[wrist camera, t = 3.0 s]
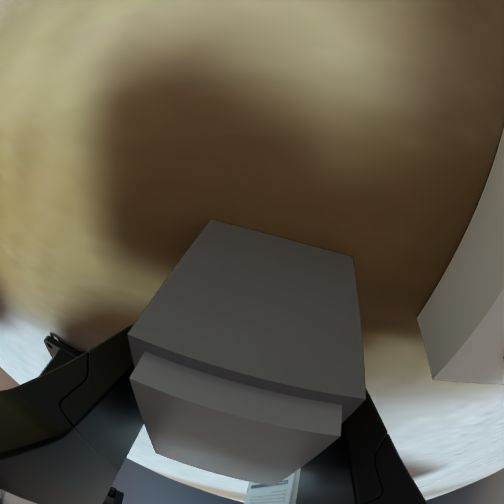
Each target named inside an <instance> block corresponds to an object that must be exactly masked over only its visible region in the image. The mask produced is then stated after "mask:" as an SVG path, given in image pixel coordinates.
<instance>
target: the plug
mask: <svg viewBox="0 0 504 504" xmlns="http://www.w3.org/2000/svg"><path fill="white" fill-rule="evenodd" d="M127 335H128V340H129V344H130V349H131V354H132V358H133V362H134V367H135V369H134V371H133V373H132V374H131V376H130V378H129V379H130V382H131V385H132V389H133V392H134V395H135V398H136V401H137V404H138V407H139V410H140V413H141V416H142V419H143V422H144V424H145V427H146V430H147V432H148V435H149V438H150V440H151V443H152V445H153V448H154V450H155V452H156V453H157V454H160V455H162V456H165V457H167V458H170V459H173V460H176V461H178V462H181V463H184V464H187V465H190V466H193V467H196V468H200V469H203V470H206V471H210V472H213V473H217V474H220V475H224V476H228V477H232V478H236V479H240V480H245V481H250V482H254V483H259V484H265V485H270V486H275V485H276V484H278V483H279V482H281V481H282V480H284V479H285V478H287V477H288V476H290V475H291V474H292V473H294V472H295V471H297V470H298V469H299V468H301V467H302V466H304V465H305V464H306V463H308V462H309V461H310V460H312V459H313V458H314V457H316V456H317V455H318V454H319V453H321V452H322V451H323V450H324V449H326V448H327V447H328V446H329V445H331V444H332V443H333V442H334V441H335V440H337V439H338V438H339V437H340V436H341V424H342V423H343V422H344V421H345V420H346V419H347V418H348V417H349V416H350V415H351V414H352V413H353V412H354V411H355V410H356V409H357V408H358V407H359V406H360V405H361V404H362V403H363V402H364V401H365V399H366V387H365V368H364V353H363V341H362V330H361V320H360V311H359V302H358V294H357V286H356V279H355V272H354V265H353V259H352V257H351V256H347V255H344V254H340V253H337V252H333V251H329V250H326V249H322V248H318V247H315V246H311V245H307V244H304V243H300V242H296V241H292V240H289V239H285V238H281V237H277V236H273V235H270V234H266V233H262V232H258V231H254V230H250V229H247V228H243V227H239V226H235V225H231V224H227V223H223V222H219V221H215V220H210V221H209V223H208V224H207V225H206V227H205V228H204V229H203V230H202V232H201V233H200V234H199V236H198V237H197V238H196V240H195V241H194V242H193V244H192V245H191V246H190V248H189V249H188V250H187V252H186V253H185V254H184V256H183V257H182V258H181V260H180V261H179V262H178V264H177V265H176V266H175V268H174V269H173V270H172V272H171V273H170V274H169V276H168V277H167V279H166V280H165V281H164V283H163V284H162V285H161V287H160V288H159V290H158V291H157V292H156V294H155V295H154V297H153V298H152V299H151V301H150V302H149V304H148V305H147V307H146V308H145V309H144V311H143V312H142V314H141V315H140V317H139V318H138V319H137V321H136V322H135V324H134V325H133V327H132V328H131V330H130V331H129V333H128V334H127Z"/></svg>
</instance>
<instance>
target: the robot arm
mask: <svg viewBox="0 0 504 504" xmlns="http://www.w3.org/2000/svg"><path fill="white" fill-rule="evenodd" d="M134 324H135V323H133V324H132V325H130V326H128V327H127V328H125V329H123V330H122V331H120V332H118V333H117V334H115V335H114V336H112V337H110V338H109V339H107V340H105V341H104V342H102V343H100V344H99V345H97V346H95V347H94V348H92V349H90V350H89V352H85V353H84V354H81V353H79V352H77V351H75V350H73V349H71V348H69V347H68V346H66V345H64V344H62V343H61V342H59V341H57V340H55V339H54V338H52V337H50V336H47V337H46V338H45V339H44V343H45V345H46V347H47V349H48V351H49V353H50V355H51V357H52V359H51V360H50V362H49V363H48V364H47V366H46V367H45V368H44V370H43V371H42V373H41V374H40V375H39V377H37V378H35V379H33V380H31V381H28V382H26V383H24V384H22V385H19V386H17V387H15V388H12V389H8V390H3V391H0V504H122V500H123V496H124V493H123V492H122V491H119V490H118V489H115V488H113V487H111V486H112V484H113V482H114V480H115V478H116V476H117V474H118V472H119V470H120V468H121V466H122V464H123V462H124V461H125V459H126V457H127V455H128V453H129V451H130V449H131V447H132V445H133V443H134V441H135V439H136V438H137V436H138V434H139V432H140V430H141V428H142V426H143V424H144V422H143V419H142V416H141V413H140V410H139V407H138V404H137V401H136V398H135V395H134V392H133V389H132V385H131V382H130V379H129V378H130V376H131V374H132V373H133V371H134V369H135V367H134V362H133V358H132V354H131V349H130V344H129V340H128V335H127V334H128V333H129V331H130V330H131V328H132V327H133V325H134ZM296 504H428V503H427V502H426V500H425V499H424V497H423V495H422V494H421V492H420V490H419V489H418V487H417V485H416V484H415V482H414V480H413V479H412V477H411V476H410V474H409V472H408V470H407V469H406V467H405V465H404V463H403V462H402V460H401V458H400V456H399V454H398V452H397V450H396V448H395V446H394V444H393V442H392V440H391V438H390V436H389V434H387V430H386V428H385V426H384V424H383V422H382V419H381V417H380V415H379V413H378V411H377V409H376V407H375V405H374V403H373V401H372V399H371V397H370V395H369V393H368V391H367V389H366V399H365V401H364V402H363V403H362V404H361V405H360V406H359V407H358V408H357V409H356V410H355V411H354V412H353V413H352V414H351V415H350V416H349V417H348V418H347V419H346V420H345V421H344V422H343V423H342V424H341V436H340V437H339V438H338V439H337V440H335V441H334V442H333V443H332V444H331V445H329V446H328V447H327V448H326V449H324V450H323V451H322V452H321V453H319V454H318V455H317V456H316V457H314V458H313V459H312V460H310V461H309V462H308V463H306V464H305V465H304V466H302V467H301V469H300V477H299V484H298V491H297V498H296Z"/></svg>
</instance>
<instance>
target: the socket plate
mask: <svg viewBox="0 0 504 504" xmlns="http://www.w3.org/2000/svg"><path fill="white" fill-rule="evenodd" d="M417 321H418V324H419V328H420V331H421V335H422V338H423V342H424V346H425V350H426V353H427V357H428V362H429V366H430V370H431V374H432V379H433V380H442V381H453V382H465V383H481V384H504V128H503V132H502V136H501V140H500V143H499V146H498V150H497V153H496V156H495V159H494V162H493V165H492V168H491V171H490V174H489V177H488V180H487V182H486V185H485V188H484V190H483V193H482V195H481V198H480V200H479V203H478V205H477V208H476V210H475V212H474V215H473V217H472V219H471V221H470V224H469V226H468V228H467V230H466V232H465V234H464V236H463V238H462V241H461V243H460V245H459V247H458V249H457V251H456V252H455V254H454V256H453V258H452V260H451V262H450V264H449V266H448V267H447V269H446V271H445V273H444V275H443V276H442V278H441V280H440V282H439V283H438V285H437V287H436V288H435V290H434V292H433V293H432V295H431V297H430V298H429V300H428V302H427V303H426V305H425V306H424V308H423V309H422V311H421V313H420V314H419V316H418V317H417Z"/></svg>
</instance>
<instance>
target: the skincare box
mask: <svg viewBox="0 0 504 504" xmlns="http://www.w3.org/2000/svg"><path fill="white" fill-rule="evenodd" d="M300 469H301V468H299V469H298V470H297V471H295V472H294V473H292V474H291V475H290V476H288V477H287V478H285V479H284V480H282V481H281V482H279V483H278V484H276V485H275V486H270V485H265V484H259V483H254V482H250V481H249V486H248V490H247V494H246V498H245V502H244V504H296V498H297V491H298V484H299V477H300Z"/></svg>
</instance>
